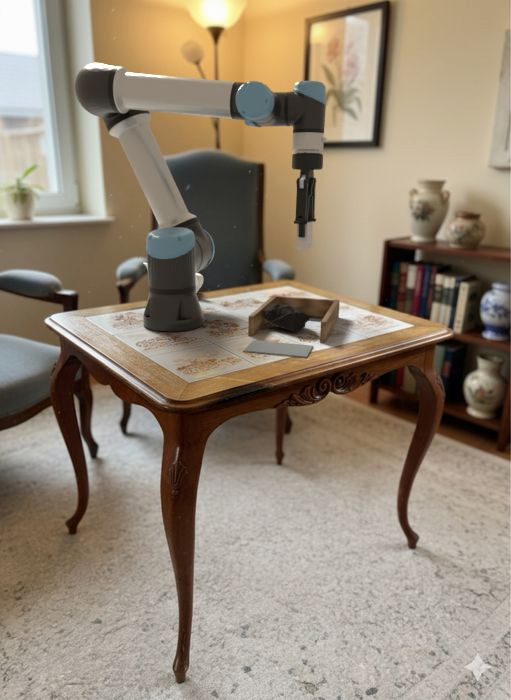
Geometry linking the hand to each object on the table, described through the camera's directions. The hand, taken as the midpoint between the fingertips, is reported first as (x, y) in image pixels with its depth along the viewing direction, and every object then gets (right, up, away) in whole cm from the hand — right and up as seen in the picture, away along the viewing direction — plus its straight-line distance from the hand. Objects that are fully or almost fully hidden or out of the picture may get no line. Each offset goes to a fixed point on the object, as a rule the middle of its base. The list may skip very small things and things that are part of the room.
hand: (304, 248), depth 137 cm
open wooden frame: (-2, -20, -1) cm, 20 cm away
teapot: (-39, -9, +32) cm, 51 cm away
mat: (-7, -26, -18) cm, 33 cm away
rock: (-4, -22, -8) cm, 24 cm away
